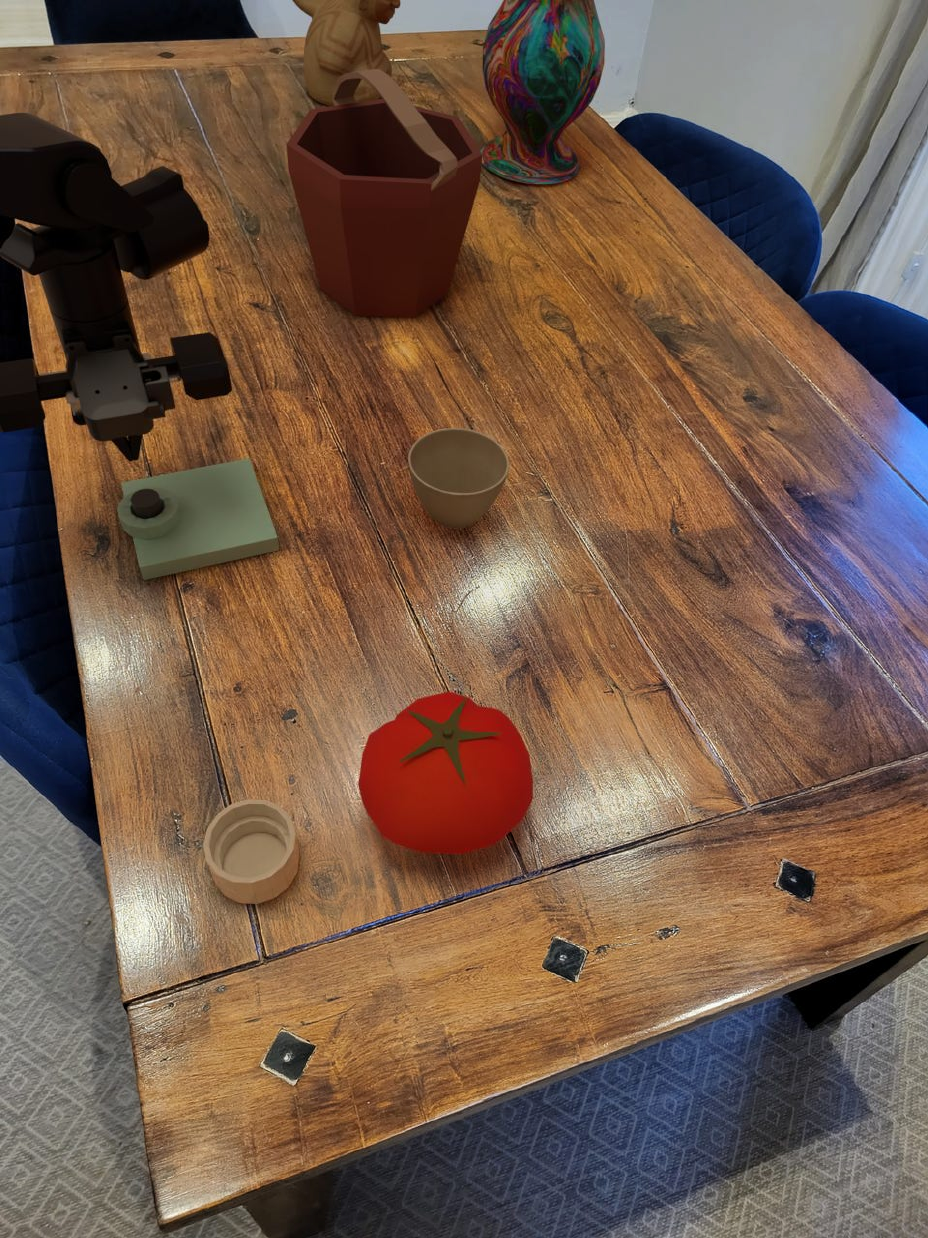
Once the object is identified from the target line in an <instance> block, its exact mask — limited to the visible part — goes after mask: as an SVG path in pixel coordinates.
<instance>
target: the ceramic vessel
mask: <svg viewBox="0 0 928 1238" xmlns="http://www.w3.org/2000/svg"><path fill="white" fill-rule="evenodd" d="M291 1H292V2H293V3H294V5H295V6H296V7H297V8H298V9H299V10H300V11H302V12H303V13H304V14H306V15H307V16H308V17H310V18H311V22H310V24H309V26H308V28H307V31H306V35H305V39H304V47H303V75H304V81H305V82H304V83H305V85H306V90H307V92H308V94H309V95H310V97H311V98H312V99H313V100H314V101H316V102H317V103H320V104H322V105H325V106H327V107H330V106H334V104H333V101H332V92H333V89H334V86H335V84H336V81H337V79H338V77H340V76H342V75H343V74H345V73H351V72H358V71H365V70H372V69H380V70H382V71H383V72H385V73H386V74H388V75H389V76H390V77H391V78H392V76H393V68H392V62H391V60H390V58H389V57H388V56H387V54H386V53H385V52H384V50H383V43H382V33H381V27H380V24H382V25H388V23H389V22H390V21H391V19H393V18H394V15H395V14H396V9H399V8H400V7H401V4H402V3H401V0H291ZM354 98H355V101H356V103H358V102H365V101H372V100H379V99H381V97H380V95H379V94H378V93H377V92H376V91H375V90H374V89H373V88H372V87H371V86H370V85H369V84H367V83H366V82H364V81H363V80H361V82H360V84H359V85H358V87H357V89H356V91H355V94H354Z"/></svg>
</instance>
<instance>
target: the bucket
mask: <svg viewBox="0 0 928 1238" xmlns="http://www.w3.org/2000/svg"><path fill="white" fill-rule="evenodd" d="M361 80H363V81H364V82H366V83H367V84H369V85H370V86H371V87H372V88H373V89H374V90H375V91H376V92H377V93H378V94H379V95H380V98H379V99H378V100H372V101H365V102H358V103H356V101H355V98H354V94H355V91H356V89H357V87H358V85H359V84H360V82H361ZM332 101H333V104H334V106H325V107H324V106H323V107H317V108H310V109H309V111H308V112H307V114H306V115H305V117H304V118H303V119H302V121H301V123H300V124H299V126H297V128H296V129H295V131H294V132H293V134H292V135H291V137H290V138H289V139H288V141H287V143H286V156H287V168H288V169H287V170H288V174H289V178H290V181H291V185H292V189H293V192H294V196H295V200H296V203H297V207H298V211H299V214H300V218H301V223H302V226H303V230H304V232H305V237H306V240H307V243H308V244H307V245H308V247H309V251H310V254H311V258H312V262H313V265H314V269H315V273H316V277H317V281H318V284H319V288H320V291H322V292H323V293H324V294H325V295H327V296H329V297H330V298H331V299H332V300H333V301H335V302H336V303H337V304H339V305H340V306H342V307H343V308H345V309H346V310H348V312H350V313H351V314H352V315H354V316H355V317H367V318H368V317H371V318H373V317H374V318H399V319H400V318H401V319H402V318H404V319H415V318H416V317H417V316H419V315H420V314H422V313H423V312H425V311H426V310H428V309H429V308H430V307H432V306H433V305H435V304H436V303H438V302H439V301H441V300H442V299H443V298H445V297H446V296H448V294H449V292H450V287H451V284H452V280H453V278H454V273H455V270H456V266H457V263H458V260H459V256H460V253H461V249H462V246H463V242H464V239H465V235H466V231H467V228H468V225H469V221H470V217H471V214H472V211H473V207H474V203H475V200H476V196H477V193H478V189H479V186H480V182H481V177H482V176H481V175H482V165H483V164H482V153H481V149H480V148H479V147H478V145H477V143H476V142H475V140H474V139H473V137H472V136H471V134H470V132H469V131H468V129H467V128H466V126H465V124H464V123H463V122H462V120H461V119H460V117H459V116H455V115H451V114H447V113H444V112H439V111H435V110H431V109H428V108H424V107H420V106H416V105H414V103H413V102H412V101H411V99H410V98H409V96H408V95H407V94H406V93H405V91H404V90H403V89H402V87H401V86H400V85H399V84H398V83H397V82H396V81H395V80H394V79H393V78H392V76H391V77H390V76H389V75H388V74H386V73H385V72H383V71H382V70H380V69H372V70H365V71H358V72H351V73H345V74H343V75H342V76H340V77H338V79H337V81H336V84H335V86H334V89H333V92H332Z"/></svg>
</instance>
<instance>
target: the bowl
mask: <svg viewBox="0 0 928 1238" xmlns="http://www.w3.org/2000/svg"><path fill="white" fill-rule="evenodd" d="M202 847H203V852H204V856H205V860H206V861H205V862H206V864H207V867H208V869H209V872H210V874H211V878H212V879H213V882H214V885H216V887H217V888H218V889H219V891H220V892H221V893H222V894H223V895H224V896H225V897H226V898H228V899H230V900H231V901H234V902H236V903H238V904H239V903H240V904H252V905H257V904H261V903H265V902H267V901H270V900H273V899H275V898H276V897H278V896H279V895H281V894H282V893H283V892H284V891H285V890H286V889H288V888H289V887H290V886H291V884H292V882H293V880H294V878H295V877H296V875H297V873H298V870H299V863H300V850H299V844H298V837H297V833H296V829H295V826H294V822H293V819H292V817H291V816H290V815H289V814H288V812H286V810H285V809H284V808H283V807H282V806H281V805H278V804H276V803H274V802H272V801H271V800H270V801H269V800H268V799H260V798H247V799H243V800H240V801H236V802H233V803H231V804H230V805H228V806H226V807H225V808H223V809H222V810H221V811H220V812H218V813H217V814H216V815H215V816H214V818H213V819H212V821H211V823H209V825H208V827H207V828H206V832H205V835H204V839H203V845H202Z"/></svg>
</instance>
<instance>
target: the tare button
mask: <svg viewBox="0 0 928 1238" xmlns="http://www.w3.org/2000/svg"><path fill="white" fill-rule="evenodd" d="M131 503H132V506H133V510H134V513H135V515H136V516H137V517H139V518H142V519H149V518H154V517H156V516H158V515H159V514H160V513H161V511H162V504H161V500H160V497H159V494H158V493H157V492H156V491H155V490H152V489H141V490H138V491H136V492H135V493H134V494H133V495H132V497H131Z"/></svg>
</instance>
